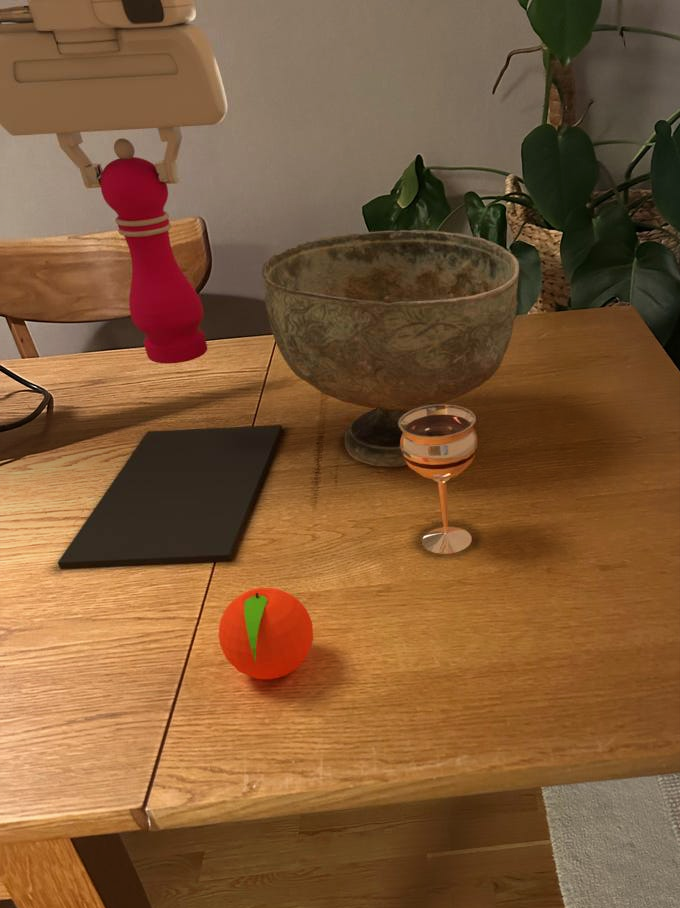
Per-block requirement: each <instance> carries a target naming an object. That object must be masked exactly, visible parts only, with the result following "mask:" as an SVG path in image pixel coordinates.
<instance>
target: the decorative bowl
mask: <svg viewBox="0 0 680 908" xmlns="http://www.w3.org/2000/svg"><path fill="white" fill-rule="evenodd" d="M261 270H262V271H261V273H262V278H263V284H264V293H265V296H264V301H265V309H266V312H267V317H268V321H269V325H270V330H271V333H272V336H273V338H274V339H273V340H274V341H275V344H276V347H277V348H278V351H279V352H280V354H281V357H282V358H283V361H284V362H285V363H286V364H287V365H288V367H289V368H290V370H291V371H292V372H293V373H294V375H295V376H296V377H298V378H299V379H301V380H303V382H305V383H307V384H309V385H310V386H312V387H313V388H315V389H316V390H318V391H319V392H320V393H321V394H323V395H326V396H328V397H330V398H334V399H336V400H337V401H340V402H343V403H347V404H351V405H356V406H361V407H365V408H369V409H372V410H370V411H368V412H365V413H363V414H361V415H360V416H358V417H357V418H356V419H355V420H354V421H353V422H352V423H350V424H349V426H348V428H347V429H346V431H345V433H344V445H345V447H344V448H345V449H346V451H347V453H348V454H349V456H350V457H351V458H353V459H354V460H356V461H358V462H361V463H364V464H367V465H371V466H376V467H387V468H388V467H389V468H391V467H393V468H394V467H403V466H408V464H407V463H406V461H405V459H404V458H403V456H402V454H401V449H400V440H401V435H402V433H403V431H402V430H401V429H400V427H399V426H398V422H399V419H400V418H401V417H402V415H403V414H405V413H407V412H409V411H410V410H413V409H416V408H419V407H423V406H428V405H439V404H445V403H447V402H449V401H452V400H456V399H457V398H460V397H462V396H464V395H466V394H468V393H470V392H472V391H473V390H475V389H477V388H479V387H481V386H482V385H483V384H485V383H487V381H489V380H490V379H491V378H492V377H493V376H494V374H495V373H496V372H497V371H498V369H499V368H500V366H501V365H502V362H503V359H504V357H505V354H506V353H507V350H508V348H509V344H510V341H511V338H512V334H513V330H514V323H515V320H516V318H517V310H518V301H517V300H518V299H517V298H518V286H519V274H520V262H519V261H518V259H517V257H516V256H515V255H514V254H512V252H510V251H509V250H507V249H505V248H504V247H503V246H501V245H499V244H497V243H495V242H492V241H490V240H487V239H485V238H482V237H477V236H472V235H469V234H464V233H457V232H448V231H447V232H446V231H441V230H422V229H421V230H420V229H412V230H406V229H401V230H384V231H383V230H382V231H381V230H380V231H368V232H367V231H365V232H358V233H348V234H339V235H330V236H326V237H325V236H324V237H321V238H318V239H314V240H313V241H306V242H305V243H301V244H297V245H296V246H295V247H290V248H286V249H285V250H284V251H283V252H282V253H280V254H274V255H272V256H271V257H270V258H269V260H266V261H265V263H264V264H263V266H262V269H261Z"/></svg>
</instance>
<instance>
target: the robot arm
mask: <svg viewBox="0 0 680 908" xmlns="http://www.w3.org/2000/svg"><path fill="white" fill-rule="evenodd" d="M26 2H27V5H17V6H11V7H5V8H4V7H3V8H0V126H1V127H2V128H3V129H4V130H5V131H6V132H7V133H8V134H9V135H11V136H15V137H16V136H32V135H33V136H34V135H37V136H38V135H53V134H55V135H56V137H57V142H58V144H59V147H60V150H62V151H63V152H64V153H65V155H66V156H67V157H68V158H69V159H70V161H71V162H72V163H73V164H74V165H75V166H76V167H77V168H78V169H79V172H80V174H81V178H82V181H83V184H84V187H85V188H86V189H95V188H101V185H100V179H101V174H102V172H103V170H104V168H103V165H102V163H93V162H92V161H91V159H90V158H89V157H88V155H87V154H86V153H85V152H84V151H83V149H82V148H81V147H80V145H81V144H83V142H84V141H83V137H82V134H81V133H90V132H107V131H125V130H126V131H127V130H145V129H157V131H158V136H159V139H160V141H161V142H162V143H165V142H166V143H167V144H166V147H165V152H164V157H163V159H161V160H159V161H157V162H155V163H154V165H155V167H156V171H157V173H158V174H159V176H158V179H159V182H160V183H161V184H167V185H173V184H177V183H179V182H180V174H179V170H178V165H177V161H176V160H177V159H178V155H179V152H180V147H181V144H182V140H183V135H182V131H181V128H182V127H183V128H184V127H199V126H200V127H201V126H202V127H203V126H215V125H218V124H219V123H221V122H222V121H223V120H224V118H225V117H226V115H227V112H228V100H227V95H226V90H225V87H224V83H223V80H222V75H221V71H220V68H219V65H218V61H217V59H216V56H215V52H214V49H213V47H212V45H211V43H210V40H209V39H208V37H207V36H206V34H205V33H204V32H203V30H201V28H199V27H198V26H197V25H194V24H192V23H190V22H192V21H194V20H195V19H196V16H197V10H196V4H195V1H194V0H26Z"/></svg>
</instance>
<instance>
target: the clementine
mask: <svg viewBox="0 0 680 908" xmlns="http://www.w3.org/2000/svg"><path fill="white" fill-rule="evenodd" d="M218 640H219V641H218V642H219V646H220V648H221V650H222V652H223V654H224V656H225V658H226V659H225V660H226V661H227V662H228V663H230V664H231V665H232V666H233V667H234V668H235V669H236V670H237V671H238V672H239V673H241V674H243V675H246V676H248V677H251V678H253V679H257V680H274V679H279V678H281V677H284V676H287V675H290V674H291V673H293V672H294V671H296V670H297V669H298V668H299V667H300V666H301V665H302V664H303V662H304V661H305V660H306V658H307V657H308V656H309V654H310V650H311V647H312V644H313V641H314V628H313V621H312V619H311V616H310V614H309V611H308V610H307V608H306V607H305V606H304V605H303V604H302V602H301V601H300V600H299V599H298V598H297V597H295V596H294V595H292V594H290V593H289V592H287V591H285V590H282V589H279V588H273V587H256V588H253V589H249V590H247V591H245V592H242V593H241V594H240V595H238V596H237V597H235V598H234V599H232V601H231V602H230V603H229V604H228V605H227V607H226V608H225V610H224V612H223V614H222V615H221V617H220V622H219V627H218Z"/></svg>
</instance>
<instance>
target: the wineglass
mask: <svg viewBox="0 0 680 908" xmlns="http://www.w3.org/2000/svg"><path fill="white" fill-rule="evenodd" d="M476 417H477V416H476V415H475V413H474V412H473V411H472V410H470V409H468V408H466V407H465V406H461V405H456V404H446V403H442V404H439V405H428V406H423V407H419V408H416V409H413V410H410V411H409V412H407V413H405V414H403V415H402V417H401V418H400V419H399V422H398V426H399V427H400V429H401V430H402V431H403V433H402V435H401V440H400V449H401V454H402V456H403V458H404V459H405V461H406V463H407V464H408V465H407V466H408V468H409V469H411V470H413V472H416V473H417V474H418V475H420V476H422V477H423V478H426V479H429V480H433V481H434V482H436V483H437V487H438V495H439V502H440V503H439V504H440V511H441V518H442V519H441V520H442V527H438V528H434V529H432V530H430V531H429V532H427V533H425V534H424V535H423V537H422V539H421V544H422V546H423V548H424V549H426V551H428V552H432V553H433V554H441V555H444V554H445V555H448V554H454V553H458V552H461V551H463V550H465V549H466V548H467V547H469V546H470V545H471V543H472V540H473V539H472V535H471V533H470V532H469V531H467V530H466V529H463V528H461V527H455V526H449V518H448V517H449V515H448V513H449V512H448V490H447V489H448V488H447V482H449V481H450V479H452V478H455V477H457V476H459V475H460V474H461V473H463V472H464V471H465V470H466V469H467V468H468V467H469V466H470V465H471V464H472V463H473V462H474V459H475V458H476V454H477V452H478V434H477V431H476V429H475V428H474V425H475V424H476V422H477V421H476V419H477V418H476Z"/></svg>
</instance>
